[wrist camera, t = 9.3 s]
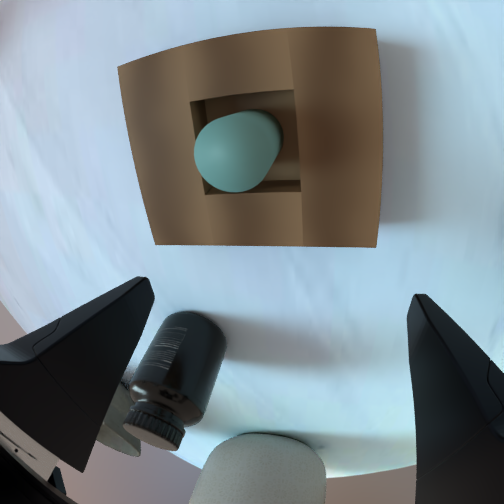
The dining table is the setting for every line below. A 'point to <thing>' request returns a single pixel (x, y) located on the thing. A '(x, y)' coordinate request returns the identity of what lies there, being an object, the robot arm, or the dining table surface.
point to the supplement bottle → (175, 379)
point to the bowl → (119, 425)
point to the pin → (238, 149)
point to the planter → (261, 473)
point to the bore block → (294, 129)
